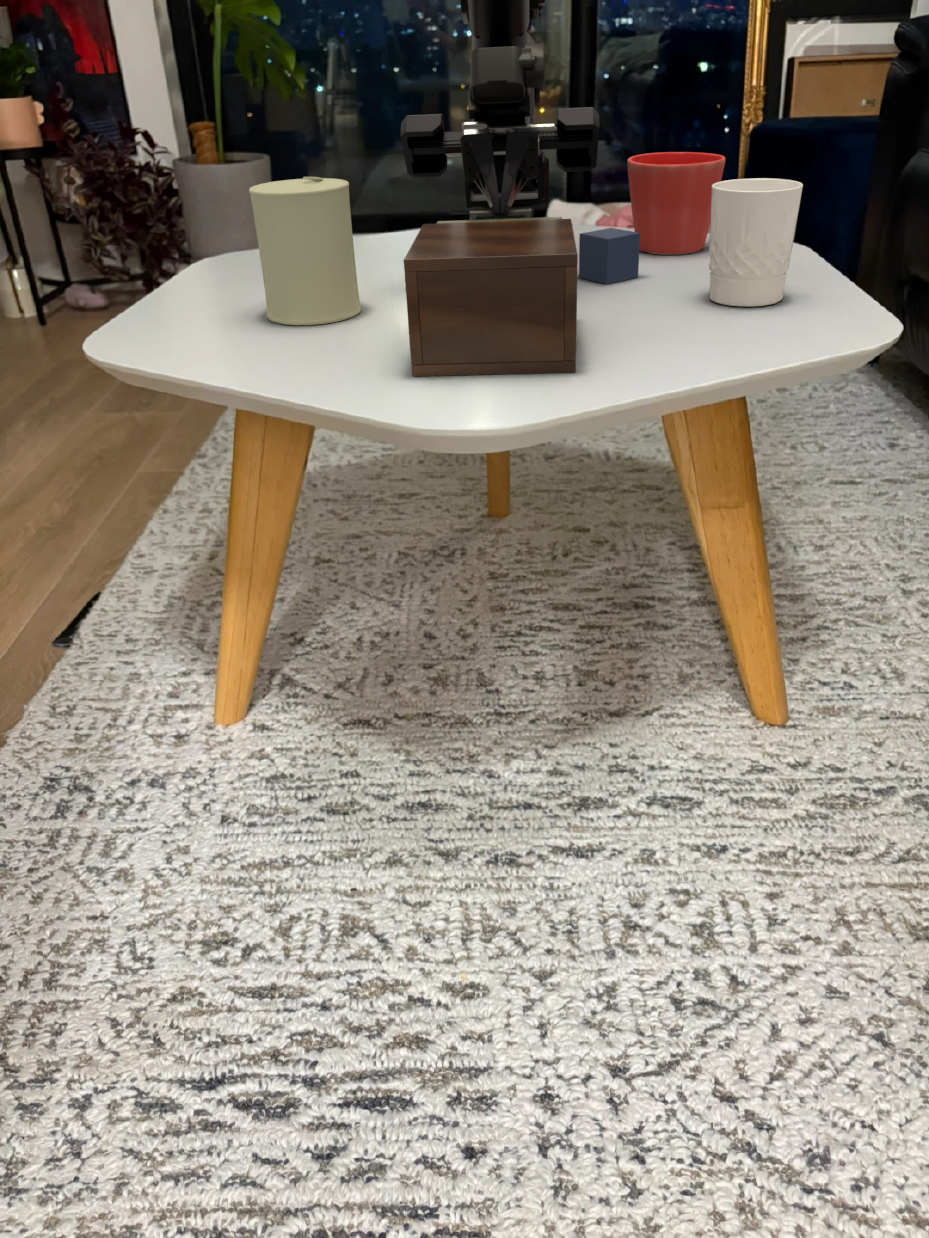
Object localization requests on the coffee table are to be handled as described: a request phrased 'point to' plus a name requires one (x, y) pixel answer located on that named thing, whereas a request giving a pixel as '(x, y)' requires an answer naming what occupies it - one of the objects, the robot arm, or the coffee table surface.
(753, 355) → the coffee table surface
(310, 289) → the can
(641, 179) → the flower pot
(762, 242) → the white cup
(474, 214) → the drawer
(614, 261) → the block
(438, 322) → the cabinet
